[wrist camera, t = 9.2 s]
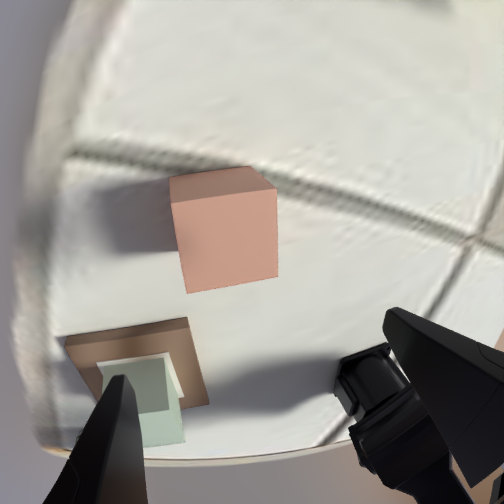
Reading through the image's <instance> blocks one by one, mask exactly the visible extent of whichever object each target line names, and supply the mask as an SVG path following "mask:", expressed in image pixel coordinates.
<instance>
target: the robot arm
mask: <svg viewBox="0 0 504 504" xmlns="http://www.w3.org/2000/svg"><path fill="white" fill-rule="evenodd" d="M382 328H383V333H384V335H385V337H386V339H387V341H388V343H387V344H384V345H381V346H379V347H376V348H373V349H370V350H368V351H365V352H362V353H359V354H356V355H353V356H351V357H348V358H345V359H343V360H341V362H340V365H339V370H338V374H337V377H336V382H335V386H334V392H333V394H334V396H335V397H338V399H339V401H340V402H341V404H342V406H343V408H344V409H345V411H346V413H347V415H348V416H350V417H351V416H354V418H355V420H356V422H357V423H356V424H354V425H351V426H350V427H348V430H349V432H350V433H349V436H350V437H351V440H352V442H353V445H354V447H355V450H356V452H357V456H358V460H359V464H360V466H361V467H365V468H367V469H368V470H369V471H370V472H371V473H373V474H374V475H375V474H377V475H378V476H379V478H380V479H381V481H382V483H383V484H384V485H385V486H387V487H389V488H390V489H396V490H399V491H401V492H404V493H406V494H409V495H411V496H413V497H414V499H415V500H416V501H417V503H418V504H475V502H474V501H473V499H472V498H471V496H470V495H469V493H468V491H467V490H466V489H465V487H464V485H463V484H462V482H461V481H460V479H459V478H458V476H457V475H456V473H455V472H454V470H453V469H452V455H453V457H454V459H455V460H456V462H457V464H458V466H459V468H460V469H461V471H462V473H463V475H464V477H465V479H466V481H467V483H468V485H469V486H470V488H473V487H474V486H475V485H477V484H478V483H479V482H481V481H482V480H483V479H485V478H486V477H487V476H489V475H490V474H491V473H492V472H494V471H495V470H496V469H497V468H498V467H500V466H501V467H502V468H503V470H504V352H502V351H499V350H496V349H494V348H491V347H489V346H486V345H484V344H482V343H480V342H476V341H475V340H473V339H470V338H468V337H466V336H463V335H461V334H459V333H457V332H454V331H452V330H450V329H447V328H445V327H443V326H441V325H438V324H436V323H434V322H431V321H429V320H427V319H424V318H422V317H420V316H418V315H415V314H413V313H411V312H408V311H406V310H404V309H401V308H399V307H394V308H391V309H388V310H387V311H386V314H385V318H384V322H383V326H382ZM391 349H392V351H393V353H394V355H395V357H396V359H397V361H398V363H399V365H400V366H401V368H402V370H403V371H404V373H405V375H406V376H407V378H408V379H409V381H410V382H409V381H408V380H407V378H406V377H405V376H404V375H403V373H402V372H401V371H400V369H399V368H398V367H397V365H396V364H395V363H394V362H393V360H392V359H391V358H390V356H389V354H390V351H391ZM418 399H419V400H418ZM43 504H148V499H147V490H146V482H145V470H144V457H143V442H142V433H141V427H140V421H139V415H138V408H137V401H136V395H135V391H134V389H133V387H132V385H131V383H130V381H129V379H128V378H127V376H126V375H125V374H118V375H114V376H112V378H111V379H110V381H109V383H108V385H107V387H106V388H105V390H104V392H103V394H102V396H101V397H100V399H99V401H98V403H97V405H96V407H95V408H94V410H93V412H92V414H91V416H90V418H89V420H88V421H87V423H86V425H85V427H84V429H83V431H82V433H81V435H80V437H79V438H78V440H77V442H76V444H75V446H74V448H73V450H72V452H71V454H70V456H69V459H68V460H67V462H66V464H65V466H64V468H63V470H62V472H61V474H60V476H59V477H58V479H57V481H56V483H55V484H54V486H53V488H52V489H51V491H50V493H49V494H48V496H47V498H46V499H45V500H44V502H43ZM490 504H504V472H503V473H502V474H500V476H498V477H497V478H496V479H495V480H494V482H493V488H492V493H491V499H490Z"/></svg>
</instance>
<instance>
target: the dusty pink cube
mask: <svg viewBox="0 0 504 504" xmlns="http://www.w3.org/2000/svg"><path fill="white" fill-rule="evenodd" d="M169 186H170V200H171V208H172V215H173V221H174V227H175V233H176V239H177V245H178V250H179V256H180V262H181V267H182V272H183V277H184V283H185V288H186V293H187V294H189V293H195V292H200V291H206V290H211V289H217V288H222V287H228V286H233V285H238V284H244V283H249V282H254V281H259V280H264V279H270V278H275V277H278V225H277V188H276V187H275V186H273V185H272V184H271V183H270V182H269V181H268V180H266V179H265V178H264V177H263V176H262V175H261V174H259V173H258V172H257V171H256V170H255V169H253V168H252V167H251V166H247V167H238V168H230V169H222V170H214V171H207V172H200V173H193V174H186V175H179V176H173V177H169Z"/></svg>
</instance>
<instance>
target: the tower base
mask: <svg viewBox="0 0 504 504" xmlns="http://www.w3.org/2000/svg"><path fill="white" fill-rule="evenodd" d="M64 347H65V349H66V351H67V352H68V354H69V356H70V358H71V359H72V361H73V363H74V364H75V366H76V368H77V370H78V371H79V373H80V374H81V376H82V378H83V379H84V381H85V382H86V384H87V386H88V387H89V389H90V390H91V392H92V393H93V395H94V396H95V398H96V399H97V401H99V399H100V397H101V396H102V388H103V376H104V366H109V365H117V364H124V363H132V362H138V361H145V360H152V359H158V358H165V361H166V364H167V367H168V369H169V372H170V375H171V378H172V380H173V383H174V386H175V388H176V391H177V393H178V398H179V405H180V409H185V408H191V407H197V406H202V405H207V404H209V399H208V395H207V391H206V388H205V384H204V381H203V377H202V373H201V370H200V366H199V362H198V358H197V354H196V351H195V347H194V343H193V339H192V335H191V331H190V326H189V322H188V318H187V317H185V318H180V319H174V320H169V321H163V322H157V323H151V324H145V325H139V326H133V327H127V328H121V329H114V330H108V331H101V332H94V333H87V334H80V335H73V336H67V338H66V342H65V346H64Z"/></svg>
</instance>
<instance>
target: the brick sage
mask: <svg viewBox="0 0 504 504" xmlns="http://www.w3.org/2000/svg"><path fill="white" fill-rule="evenodd" d="M118 374H125V375H126V376H127V378H128V379H129V381H130V383H131V385H132V387H133V389H134V391H135V395H136V401H137V408H138V415H139V421H140V427H141V433H142V442H143V448H146V447H155V446H164V445H171V444H178V443H185V437H184V431H183V424H182V418H181V412H180V405H179V398H178V393H177V391H176V388H175V386H174V383H173V380H172V378H171V375H170V372H169V369H168V367H167V364H166V361H165V358H158V359H152V360H145V361H138V362H132V363H124V364H117V365H109V366H104V376H103V388H102V394H103V392H104V390H105V388H106V387H107V385H108V383H109V381H110V379H111V378H112V376H114V375H118Z"/></svg>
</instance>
